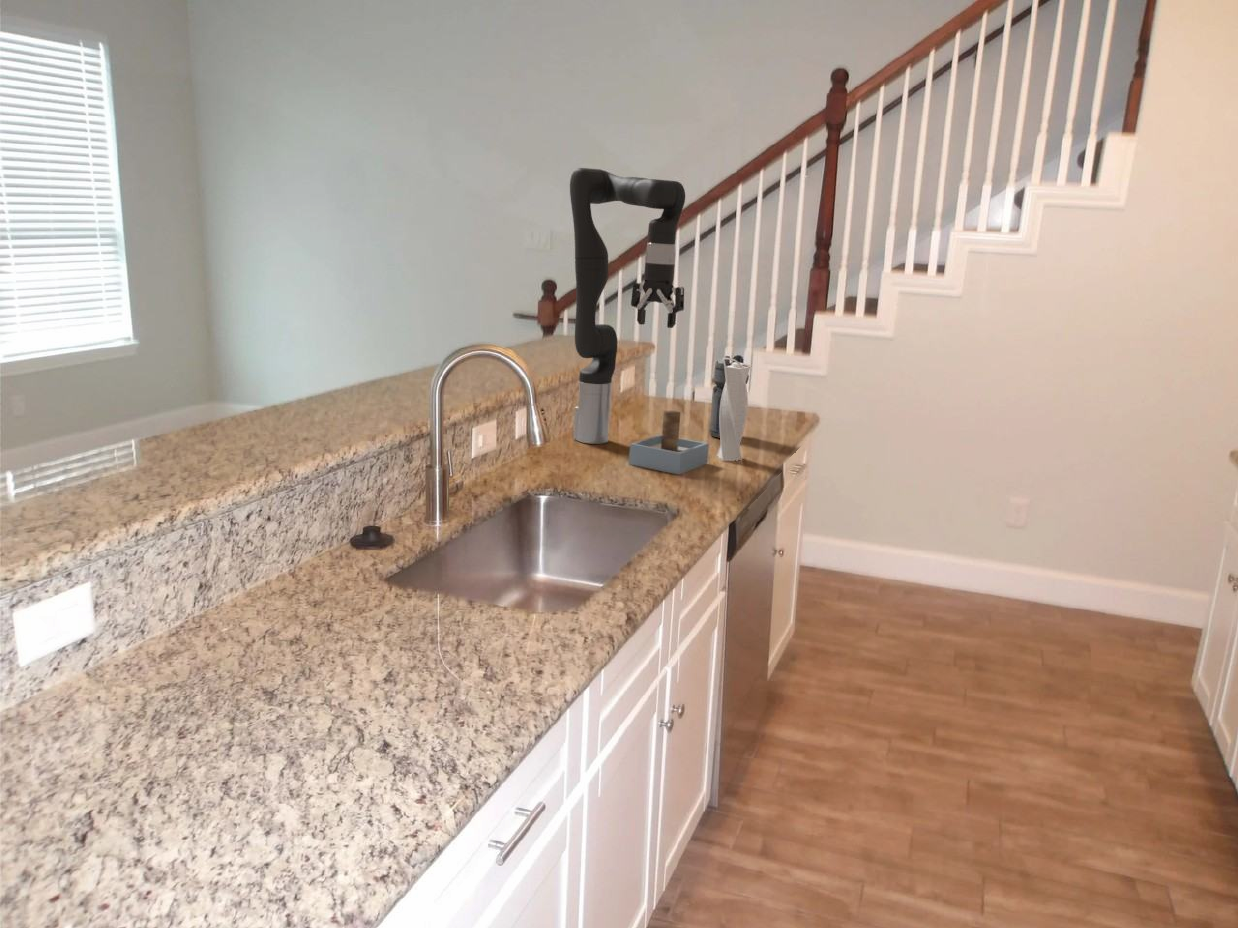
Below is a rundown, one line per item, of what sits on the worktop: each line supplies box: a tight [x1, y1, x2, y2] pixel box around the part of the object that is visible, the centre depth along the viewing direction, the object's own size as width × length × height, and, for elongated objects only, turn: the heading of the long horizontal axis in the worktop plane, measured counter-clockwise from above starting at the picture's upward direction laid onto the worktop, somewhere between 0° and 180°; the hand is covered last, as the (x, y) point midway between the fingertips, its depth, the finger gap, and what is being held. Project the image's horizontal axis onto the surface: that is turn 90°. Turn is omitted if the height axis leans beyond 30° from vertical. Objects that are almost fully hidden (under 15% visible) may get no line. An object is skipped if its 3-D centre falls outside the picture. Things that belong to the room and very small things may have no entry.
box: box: [628, 433, 710, 476], centre depth 258 cm, size 15×16×6 cm
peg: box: [661, 410, 681, 452], centre depth 257 cm, size 4×4×14 cm
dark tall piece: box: [709, 354, 750, 439], centre depth 293 cm, size 10×13×25 cm
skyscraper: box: [716, 357, 751, 462], centre depth 264 cm, size 8×8×28 cm
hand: (655, 326), depth 251 cm, fingers open, 8 cm apart
